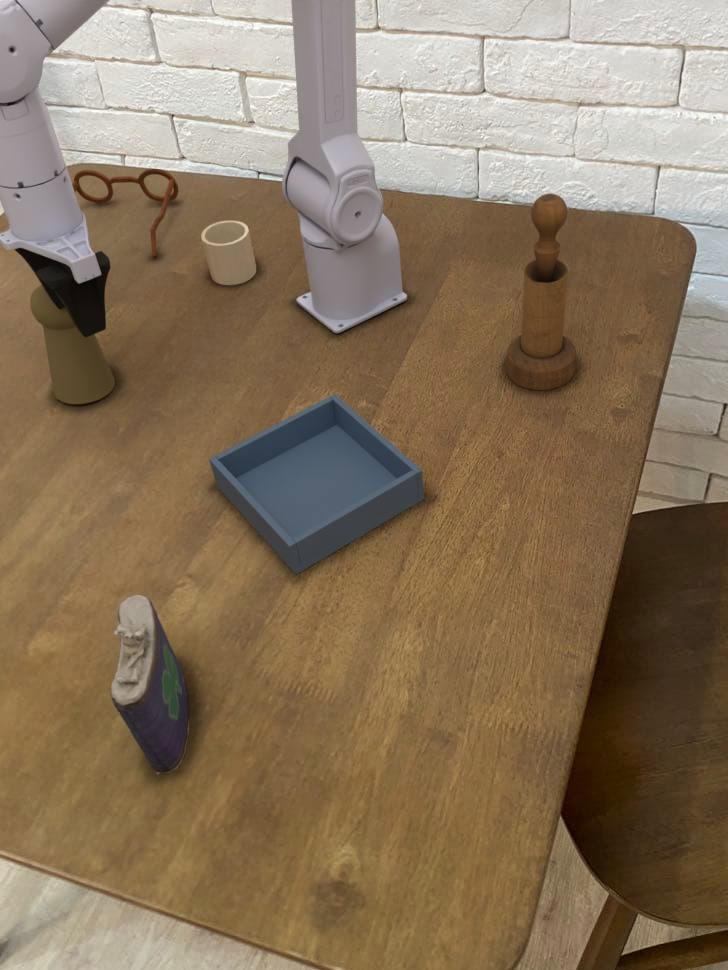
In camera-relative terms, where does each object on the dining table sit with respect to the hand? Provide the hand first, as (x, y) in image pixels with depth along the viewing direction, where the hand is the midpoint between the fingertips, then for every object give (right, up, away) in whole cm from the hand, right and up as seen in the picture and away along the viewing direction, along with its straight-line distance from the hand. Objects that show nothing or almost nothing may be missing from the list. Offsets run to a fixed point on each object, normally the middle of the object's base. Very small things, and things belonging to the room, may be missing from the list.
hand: (80, 317), depth 84 cm
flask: (+12, -33, -16) cm, 38 cm away
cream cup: (+10, +11, +23) cm, 27 cm away
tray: (+22, -16, -2) cm, 27 cm away
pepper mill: (-3, -5, +10) cm, 12 cm away
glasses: (-6, +18, +31) cm, 36 cm away
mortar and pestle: (+42, -3, +8) cm, 43 cm away
